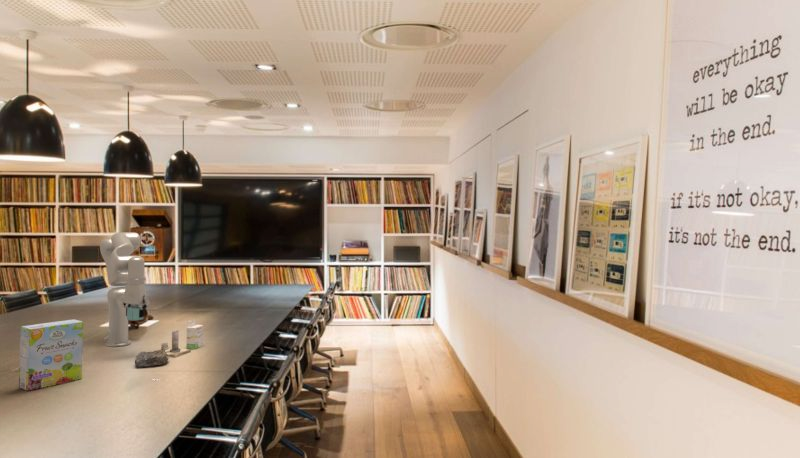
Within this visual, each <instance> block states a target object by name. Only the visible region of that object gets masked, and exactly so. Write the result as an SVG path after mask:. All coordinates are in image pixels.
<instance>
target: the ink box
mask: <svg viewBox="0 0 800 458" xmlns="http://www.w3.org/2000/svg"><path fill="white" fill-rule="evenodd" d="M196 322H197V320H196V319H192V320H187V323H186V347H185V349H190V350H196V349H198V348H199V349H200V348H201V347H203V346H204V345H203V343H204V340H203V339H204V325H203V324H196Z"/></svg>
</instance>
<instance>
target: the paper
mask: <svg viewBox="0 0 800 458" xmlns="http://www.w3.org/2000/svg"><path fill="white" fill-rule="evenodd" d="M161 378H162V377H159V379H158V378H152V380H154V381H153V382H159V381H161V380H160V379H161ZM155 380H156V381H155ZM124 393H125V394H127V393H126V392H124Z"/></svg>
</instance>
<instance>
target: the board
mask: <svg viewBox="0 0 800 458" xmlns="http://www.w3.org/2000/svg"><path fill="white" fill-rule="evenodd" d="M179 331H180V330H178V329H175V330H172V331H171V347H169V343H168V342H164V343H161V345H160V347H161V348H158V349H156V350H165V352H166V353H167V355H168V357H169V358H179V357H181V356H184V355H186V354H188V353H191V351H192V349H186V348H179V339H180V338H179V337H180V336H179V335H180V334H179ZM156 350H152V351H151V352H153V351H156Z"/></svg>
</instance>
